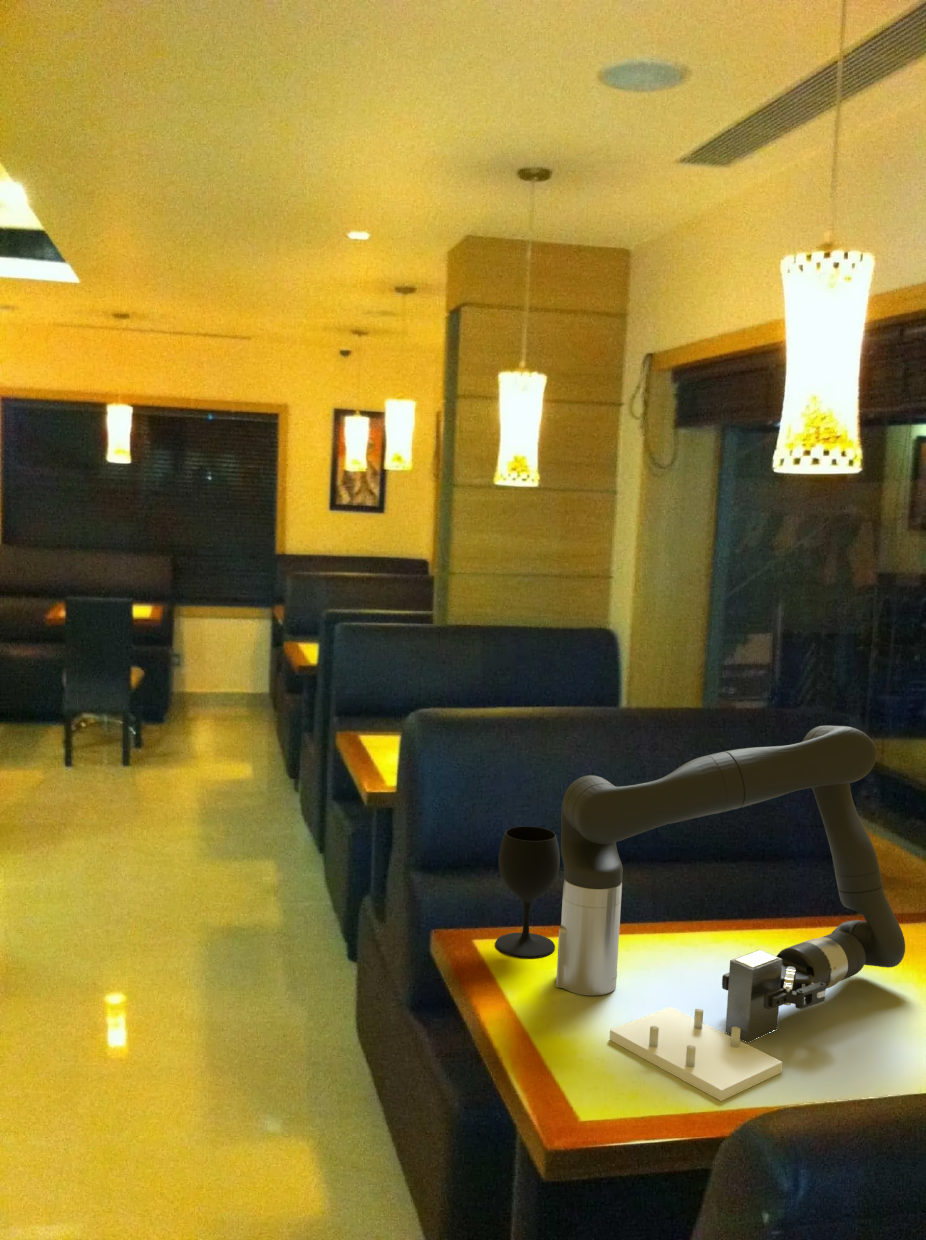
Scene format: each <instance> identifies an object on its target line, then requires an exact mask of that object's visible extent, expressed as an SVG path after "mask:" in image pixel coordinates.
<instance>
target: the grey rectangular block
mask: <svg viewBox="0 0 926 1240" xmlns="http://www.w3.org/2000/svg"><path fill="white" fill-rule="evenodd" d="M776 956H777V955H774V954H771V953H769V952H767V951H764V950H762V949H759V950H755V951H753V952H750V953H748V954H744V955H741V956H738V957H735V958H733V959H730V961H729V970H730V971H729V970H728V971H729V972H728V973H729V986H728V990H727V1004H726V1014H725V1015H726V1017H725V1018H726V1019H725V1032H724V1033H726V1032H727V1033H726V1034H728V1033H729V1034H728V1035H730V1034H731V1031H732V1027H739V1028H740V1039H741V1040H740V1041H742V1040H744V1041H746V1042H747V1044H749V1043H751V1042H750V1041H752V1040H754V1039H756V1038H758V1037H761V1036H763V1035H765V1034H767V1033H769V1032H772V1031H773V1030H776V1029H777V1030H778V1025H779V1024H778V1023H779V1011H780V1009H779V1008H780V1006H778V1007H776V1008H771V1009H766V1008H764V1007H763V1003H764V995H765V994H766V993H767V992H770V991H772V990H775V989H777V988H780V984H781V971H782V959H781V958H779V957H776ZM772 1033H773V1032H772ZM765 1036H766V1035H765ZM763 1037H764V1036H763ZM761 1038H762V1037H761ZM756 1040H757V1039H756ZM744 1041H743V1042H744ZM754 1041H755V1040H754ZM746 1042H745V1043H746ZM748 1042H749V1043H748ZM752 1042H753V1041H752Z"/></svg>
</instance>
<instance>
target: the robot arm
mask: <svg viewBox="0 0 926 1240" xmlns="http://www.w3.org/2000/svg"><path fill="white" fill-rule="evenodd" d="M873 741H874V740H872V739H871V737H870V736H868V735H867V733H865V732H864V731H861V730H860V729H857V728H855V727H851V726H845V725H819V726H816V727H814V728H812V729H811V730H809V731H808V732H807V733H806V735H805V737H804V738H803V740H802V741H801V742H797V743H792V744H789V745H788V744H787V745H776V746H757V747H746V748H737V749H731V750H725V751H721V752H715V753H712V754H708V755H703V756H700V757H696V758H694V759H692V760H690V761H687V762H686V763H684V764H682V765H680V766H679V767H678V768H676V769H674V771H672V772H671V773H668V774H667V775H666V776H665V775H664V777H661V778H659V779H656V780H652V781H648V782H642V783H638V784H632V785H631V784H630V785H624V786H623V785H622V786H615V785H614V784H612V783H611V782H610V781H608V780H607V779H605V778H604V777H601V776H597V775H589V774H588V775H584V776H581V777H578V778H577V779H576V780H574V781H573V782H572V783H571V784H569V786H568V787H567V789H566V790H565V793H564V795H563V796H564V797H563V799H562V805H561V818H560V819H561V820H560V821H561V822H560V828H561V829H560V857H561V861H562V864H563V880H562V886H563V887H562V900H561V902H562V903H561V904H562V905H561V921H560V927H559V930H558V942H557V943H558V945H557V963H556V964H557V965H556V985H555V986H556V988H561V989H565V990H567V991H569V992H571V993H574V994H578V995H581V996H582V995H584V996H603V995H606V994H610V993H612V992H613V991H615V989H616V987H617V978H618V960H619V959H618V958H619V942H620V924H621V907H622V906H621V905H622V890H623V889H622V888H623V873H624V872H623V871H624V869H623V864H622V861H621V859H620V855H619V853H618V848H617V842H620V841H623V840H626V839H629V838H631V837H634V836H637V835H639V834H643V833H645V832H647V831H651V830H654V829H657V828H659V827H662V826H665V825H666V826H667V825H668V824H674V823H678V822H684V821H689V820H693V819H698V818H700V817H706V816H710V815H711V816H712V815H714V814H722V813H724V812H729V811H733V810H736V809H737V810H738V809H740V808H745V807H748V806H751V805H754V804H758V803H761V802H765V801H769V800H771V799H772V800H773V799H774V798H779V797H781V796H784V795H785V796H786V795H787V794H790V793H793V792H796V791H801V790H805V789H812V793H813V795H814V798H815V802H816V804H817V808H818V810H819V813H820V816H821V819H822V824H823V826H824V830H825V833H826V836H827V837H826V838H827V840H828V844H829V849H830V853H831V856H832V857H831V858H832V862H833V869H834V873H835V874H834V875H835V880H836V885H837V891H838V895H839V899H840V902H841V904H842V906H844V908H847V909H849V910H852V911H855V912H857V913H859V914H860V915H861V916H863V918H864V920H860V919H859V920H858V919H856V920H854V919H853V920H847V921H844V922H842V923H840V924H839V925H838V926H837V927H836V928H835V929H834V930H832V932H831V933H829V934H827V935H824V936H821V937H818V938H817V937H816V938H811V939H808V940H805V941H802V942H800V943H797V944H794V945H791V946H788V947H786V948H783V949H781V950H780V951H779V952H778V954H777V955H775V956H776V957H779V958H781V959H782V971H781V984H780V988H777V989H775V990H772V991H770V992H767V993H766V994H765V995H764V1003H763V1007H764V1008H766V1009H771V1008H776V1007H778V1006H779V1007H780V1006H783V1005H785V1006H791V1005H795V1006H794V1007H795V1008H796V1009H798V1010H804V1009H807V1008H809V1007H812V1006H814V1005H817V1004H821V1003H823V1002H826V993H827V991H826V990H827V989H829V988H831V987H832V988H833V986H836V985H837V984H838V983H840V982H842V981H844V980H847V979H849V978H851V977H854V976H855V975H857V974H859V972H861V971H862V970H863V968H864V966H871V967H878V968H879V967H880V968H894V967H897V966H898V965H900V964H901V962H902V961H903V959H904V956H905V953H906V941H905V935H904V933H903V930H902V928H901V925H900V924H899V922H898V919H897V918H896V915H895V913H894V910H893V909H892V907H891V904H890V903H889V901H888V898H887V895H886V894H885V890H884V884H883V880H882V875H881V873H882V872H881V869H880V865H879V864H880V863H879V861H878V860H879V859H878V856H877V852H876V849H875V848H874V845H873V842H872V840H871V838H870V836H869V834H868V832H867V830H866V828H865V825H864V824H863V822H862V820H861V818H860V816H859V813H858V811H857V807H856V805H855V803H854V799H853V796H852V791H851V783H855V782H857V781H860V780H862V779H863V778H865V777H866V776H867V775H868V774H869V773H870V772H871V771H872V770H873V768H874V766H875V764H876V761H877V755H878V754H877V749H876V745H875V743H874V742H873ZM728 971H730V969H729V970H728ZM728 986H729V972H726V973H724V974H723V975H722V979H721V988H722V989H723V990H724V991H728Z"/></svg>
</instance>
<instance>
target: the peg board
mask: <svg viewBox="0 0 926 1240" xmlns="http://www.w3.org/2000/svg"><path fill="white" fill-rule="evenodd" d="M609 1040H610V1041H611V1042H613V1043H614V1044H617V1045H619V1046H620V1047H622V1048H624V1049H626V1050H627V1051H629V1052H631V1053H633V1054H635V1055H636V1056H638V1057H640V1058H642V1059H643V1060H645V1061H648V1062H650V1063H651V1064H653V1065H655V1066H656V1067H659V1068H660V1069H662V1070H663V1071H666V1072H668V1073H669V1074H671V1075H672V1076H675V1077H677V1078H678V1079H680V1080H682V1081H684V1082H686V1083H687V1084H689V1085H691V1086H693V1087H695V1088H696V1089H698V1090H700V1091H701V1092H704V1093H706V1094H707V1095H709V1096H711V1097H713V1098H714V1099H716V1100H718V1101H720V1102H722V1101H725V1100H727V1099H729V1098H730V1097H734V1096H735V1095H737V1094H739V1093H742V1092H743V1091H746V1090H748V1089H750V1088H753V1087H754V1086H756V1085H758V1084H760V1083H762V1082H765V1081H766V1080H769V1079H771V1078H773V1077H775V1076H777V1075H779V1074H781V1073H783V1061H781V1060H779V1059H777V1058H775V1057H773V1056H771V1055H769V1054H767V1053H765V1052H763V1051H761V1050H760V1049H757V1048H755V1047H753V1046H751V1045H749V1044H748V1043H747V1044H746V1042H744V1041H742V1040H740V1028H739V1027H732V1031H731V1035H730V1034H728V1033H726V1032H722V1031H720V1030H718V1029H716V1028H714V1027H712V1026H710V1025H708V1024H706V1023H705V1022H704V1010H703V1009H701V1008H695V1009H694V1017H692V1016H691V1015H688V1014H686V1013H684V1012H682V1011H679V1010H678V1009H676V1008H674V1007H672V1006H669V1007H666V1008H664V1009H662V1010H661V1009H660V1010H658V1011H656V1012H653V1013H651V1014H648V1015H645V1016H643V1017H640V1018H637V1019H635V1020H633V1021H629V1022H626V1023H624V1024H621V1025H619V1026H616V1027H613V1028H611V1029H609Z"/></svg>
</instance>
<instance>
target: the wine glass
mask: <svg viewBox="0 0 926 1240" xmlns="http://www.w3.org/2000/svg"><path fill="white" fill-rule="evenodd" d="M559 847H560V846H559V842H558V838H557V834H556V833H555V832H554V831H552V830H550V829H548V828H544V827H540V826H539V827H538V826H530V825H529V826H528V825H525V826H523V825H520V826H514V827H509V828H508V829H506V830H505V831H504V834H503V837H502V840H501V843H500V847H499V853H498V867H499V868H498V869H499V873H500V876H501V878H502V881H503V883H504V884H505V886H506V888H507V889H508V890H509V891H510V892H511V893H512V894H513V895H515V896H516V897H517V898H518V899H519V900H520V901H521V902H522V905H523V925H522V932H510V933H506V934H503V935H501V936H499V937H497V939H496V940H495V947H496V949H497V951H499V952H500V953H503V954H504V955H507V956H511V957H514V958H520V959H539V958H544V957H547V956H550V955H551V954H552V953H554V952H555V949H556V944H555V942H554V941H553V940H552V939H551V938H548V937H546V936H544V935H540V934H537V933H532V932H530V913H531V907H532V903H533V902H534V901H536V900H537V899H538V898H540V897H541V896H543V895H545V894H546V892H548V891H549V890H550V888H552V886H553V885H554V884H555V882H556V880H557V877H558V874H559V869H560V865H561V862H560V861H561V859H560V857H561V852H560V848H559Z"/></svg>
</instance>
